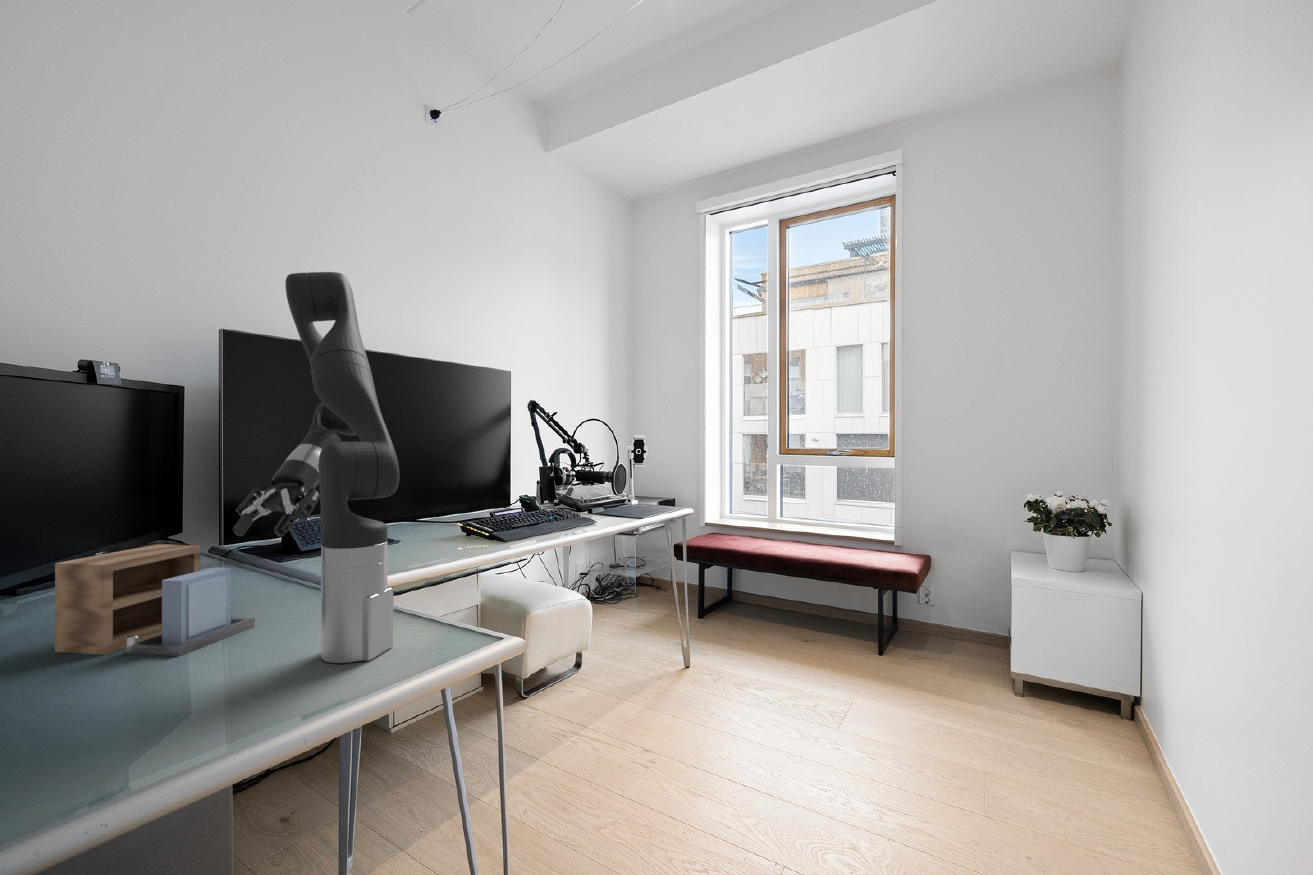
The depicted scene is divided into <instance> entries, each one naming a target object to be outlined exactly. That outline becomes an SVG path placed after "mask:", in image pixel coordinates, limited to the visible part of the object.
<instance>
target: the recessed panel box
mask: <svg viewBox="0 0 1313 875" xmlns="http://www.w3.org/2000/svg"><path fill="white" fill-rule="evenodd" d="M231 617H232V568H231V567H215V566H214V567H210V568H206V569H201V571H197V572H193V573H189V574H185V575H181V576H177V577H173V578H169V579H165V580H162V643H170V644H181V643H183V642H186V641H189V640H191V639H194V638H197V637H199V636H202V635H205V634H207V633H210V632H213V631H215V630H218V629H221V628H223V627H226V626H229V625H231Z"/></svg>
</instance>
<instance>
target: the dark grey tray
mask: <svg viewBox="0 0 1313 875" xmlns="http://www.w3.org/2000/svg"><path fill="white" fill-rule="evenodd" d="M255 625H256V624H255V617H241V616H231V625H229V626H226V627H223V628H221V629H218V630H215V631H213V632H210V633H207V634H205V635H202V636H199V637H197V638H194V639H191V640H189V641H186V642H183V643H181V644H170V643H162V635H159V636H156V637H153V638H150V639H147V640H144V641H141V642H138V635H131V636H128V637H126V648H125V651H126V655H131V654H133V655H147V656H148V655H149V656H167V657H169V656H170V657H180V656H183V655H186V654H188V653H190V652H193V651H195V650H198V649H200V648H203V647H205V646H209V645H211V644H213V643H216V642H219V641H222V640H224V639H226V638H228V637H231V636H234V635H236V634H239V633H242V632H244V631H246V630H250V629H251V628H253V627H255Z"/></svg>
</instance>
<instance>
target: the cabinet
mask: <svg viewBox="0 0 1313 875" xmlns="http://www.w3.org/2000/svg"><path fill="white" fill-rule="evenodd" d="M201 548H202V547H201V545H197V544H196V545H195V544H194V545H193V544H166V543H165V544H162V543H158V544H157V543H156V544H152V545H146V546H141V547H136V548H131V549H124V550H120V551H115V552H114V551H113V552H108V553H103V554H98V555H93V556H88V557H82V558H75V559H71V560H66V561H60V562H55V563H54V584H55V585H54V595H55V596H54V611H55V612H54V653H64V654H65V653H66V654H67V653H69V654H83V655H99V656H100V655H101V656H103V655H104V656H105V655H108V654H111V653H114V652H117V651H119V650H122V649H126V637H128V636H131V635H138V642H141V641H144V640H147V639H150V638H153V637H156V636H159V635H162V580H165V579H169V578H173V577H177V576H181V575H185V574H189V573H193V572H197V571H201V570H202V569H201V568H202V567H201V566H202V562H201V560H202V558H201V555H202V554H201V552H202V551H201V550H202V549H201Z"/></svg>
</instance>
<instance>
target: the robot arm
mask: <svg viewBox="0 0 1313 875" xmlns="http://www.w3.org/2000/svg"><path fill="white" fill-rule="evenodd" d="M284 283H285V284H284V285H285V287H284V288H285V295H286V299H287V304H288V308H289V311H290V313H291V316H292V319H293V322H294V324H295V328H296V330H297V334H298V336H299V338H300V342H301V344H302V346H303V348H304V351H305V352H306V355H307V357H308V358H307V359H308V360H309V367H310V373H311V379H312V385H313V389H314V392H315V393H316V396H317V397H318V399H319V401H321V403H319V404H317V407H315V411H314V413H313V417H312V422H311V424H310V427H309V429H308V431H307V434H306V435H305V436H304V438H303V439H302V441H301V442H300V444H299V445H298V446H296V448H294V450H292V451H291V453H290V454H289V455H288V457H287V458H286V459H285V461H284V462H283V463H282V464H281V466H280V467H279V469H277V471H276V473H275V474H274V475H273V477H272V480H271V486H269V488H268V489H266V490H263V491H262V490H260V489H259V488H258V487H255V488H253V489H252V490H251V491H250V492H249V493H248V494H247V495H246V497H245V498H244V499H243V500H242V501H241V503H240V504H238V506H237V507H236V508H235V512H236V513H237V514H238V515H239V516H240V518H239V519H238V520H237V522H236V523H235V524H234V525H233V527H232V532H233V533H234V534H235V535H236V536H237V537H244V535H245V534H246V533H247V532H248V530H249V529H250V527H252V525H253V523H254V522H255V520H257V519H258V518H260V517H262V516H267V515H269V514H271V513H275V512H281V513H284V512H285V514H283V515H282V516H281V517H280V519H279V520H278V522H276V525H275V526H274V527H273V530H272V531H273V532H274V533H275V535H276V536H277V537H284V536H285V535H286V534H287V533H288V532H289V531H290V529H291V528H292V526H293V525H294V523H295V522H299V520H300V519H303V520H307V519H308V518H309V517H310V515H312V513H313V511H314V509H315V507H316V505H317V504H318V502H319V501H320V533H321V534H320V535H321V536H320V538H321V540H320V545H321V547H320V551H321V552H320V554H321V555H320V559H321V560H320V563H321V564H320V658H321V660H322V661H324V662H326V663H331V664H346V663H353V662H359V661H371V660H373V659H374V658H376V657H378V656H379V655H381V654H383V653H384V652H386V651H387V650H390V649H391V648H392V647H394V588H392V587H388V545H389V544H388V537H389V536H388V532H389V531H388V526H387V524H386V523H384V522H383V521H379V520H376V519H372V518H367V517H363V516H361V515H358V514H355V513H354V512H352V511H351V510H350V509H349V506H348V501H358V500H372V499H373V500H374V499H382V498H383V499H384V498H387V497H390V496H392V495H393V494H395V493H396V491H397V490H398V487H399V484H400V467H399V460H398V457H397V453H396V449H395V446H394V444H393V442H392V439H391V437H390V433H389V431H388V428H387V425H386V423H385V420H384V418H383V414H382V413H381V409H380V405H379V401H378V397H377V392H376V388H375V383H374V377H373V374H372V370H371V366H370V363H369V358H368V355H367V352H366V350H365V345H364V343H363V339H362V335H361V332H360V328H359V321H358V315H357V311H356V302H355V297H354V293H353V292H354V291H353V290H352V286H351V283H350V281H349V280H348V278H347V277H346V276H345V274H343V273H340V272H336V271H312V272H310V271H308V272H296V273H295V272H294V273H290V274H287V276H286V278H285V282H284ZM327 321H328V322H329V321H330V322H331V321H332V322H333V321H334V323H333V325H332V326H331V328H330V330H328V332H327V333H326V334H325V335H324V336H322V335H321V334H320V333H319V331H318V330H317V328H316V326H315V325H314V323H315V322H316V323H317V322H327ZM337 433H338V434H340V435H341V434H342V435H348V436H357V437H358V439H359V441H354V440H353V441H347V440H346V441H342V439H341V437H340V436H339V435H338V434H337ZM317 486H319V492H318V491H317V490H316V487H317ZM263 503H264V506H265V507H266V508H263V507H262V504H263ZM256 510H257V512H254V511H256ZM253 512H254V513H253Z"/></svg>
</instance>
